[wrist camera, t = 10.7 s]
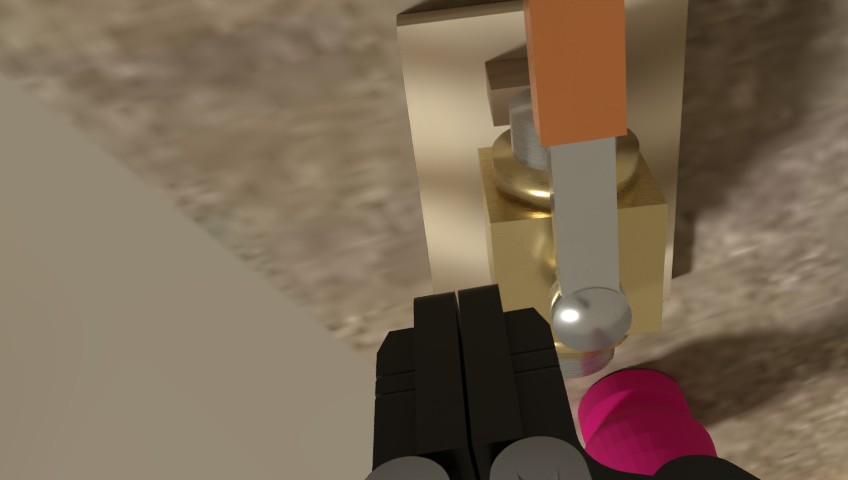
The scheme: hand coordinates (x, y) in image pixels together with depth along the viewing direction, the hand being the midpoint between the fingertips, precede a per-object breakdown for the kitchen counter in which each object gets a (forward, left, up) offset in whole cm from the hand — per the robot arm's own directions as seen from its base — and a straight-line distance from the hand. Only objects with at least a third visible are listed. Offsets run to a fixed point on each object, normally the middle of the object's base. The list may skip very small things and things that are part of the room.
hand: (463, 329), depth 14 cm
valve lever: (+4, +4, -13) cm, 14 cm away
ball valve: (+10, +4, -20) cm, 22 cm away
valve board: (+10, +4, -23) cm, 26 cm away
